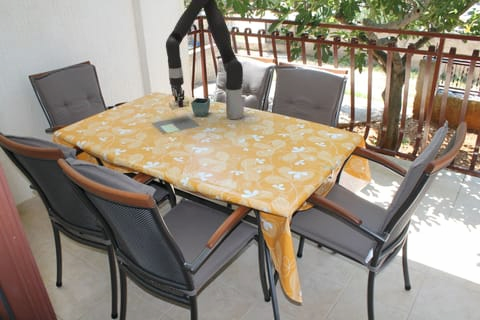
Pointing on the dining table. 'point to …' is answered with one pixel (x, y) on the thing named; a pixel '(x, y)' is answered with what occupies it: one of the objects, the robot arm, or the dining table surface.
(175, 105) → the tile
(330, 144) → the dining table surface
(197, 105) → the flower pot
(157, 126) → the mat
